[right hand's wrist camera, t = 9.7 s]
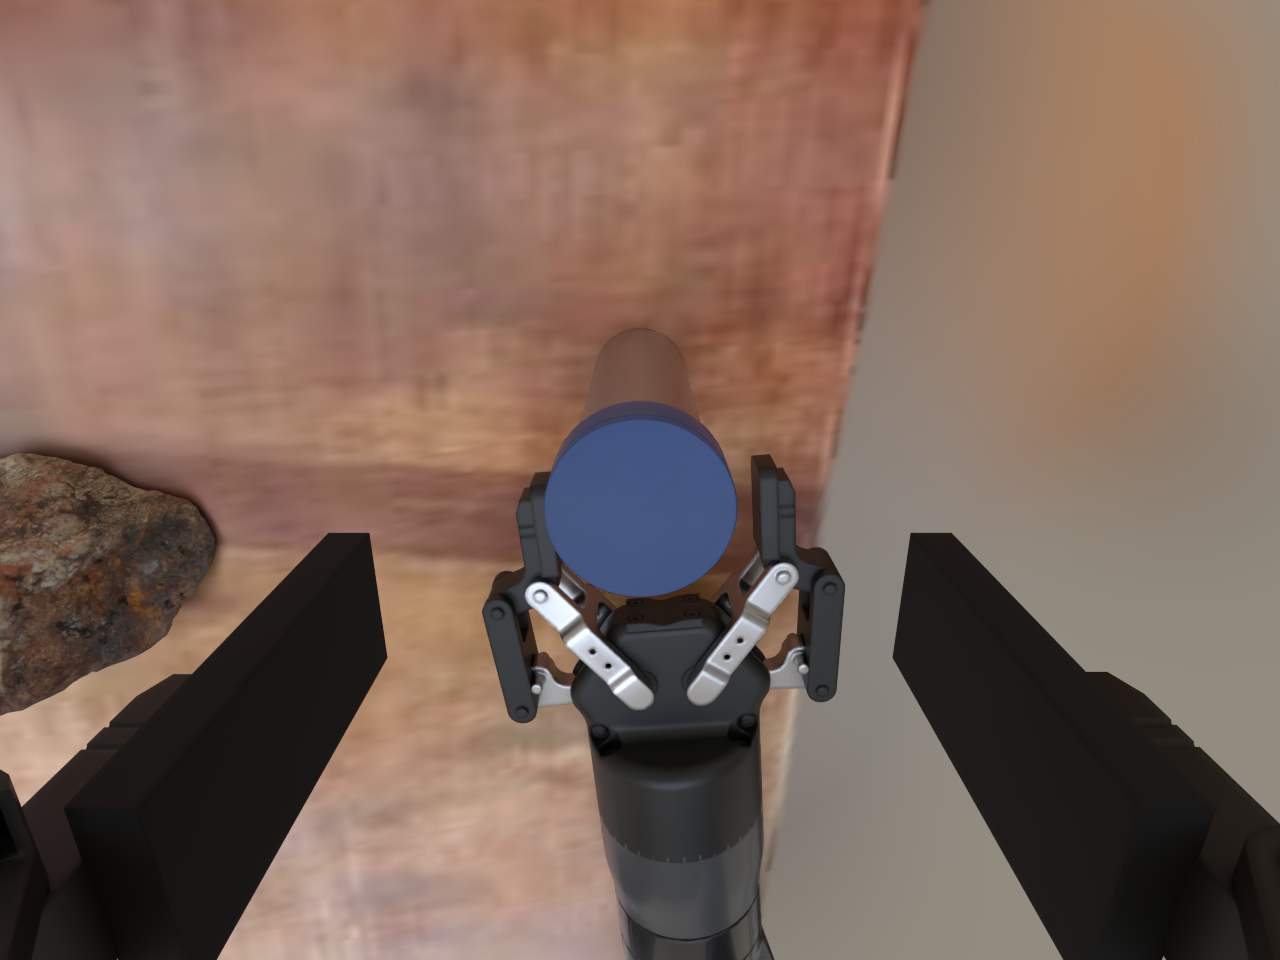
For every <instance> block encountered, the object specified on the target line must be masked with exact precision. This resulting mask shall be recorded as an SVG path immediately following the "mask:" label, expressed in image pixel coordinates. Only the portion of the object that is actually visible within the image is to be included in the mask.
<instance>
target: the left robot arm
mask: <svg viewBox="0 0 1280 960" xmlns="http://www.w3.org/2000/svg"><path fill="white" fill-rule="evenodd" d="M550 474H551V472H539V473H535V474H534V477H533V479H532V482H531V485H530V487H529V488H525V489H524V491H523V493H522V496H521V498H520V501H519V504H518V508H517V512H516V517H517V523H518V529H519V536H520V542H521V548H522V554H523V561H524V567H523V568H521V569H519V570H517V571H515V572H510V571H504V572H501V573H499V574H498V575H497V576H496V577H495V579H494V581H493V584H492V589H491V592H490V595H489V597H488V599H487V600H486V602H485V604H484V607H483V610H482V614H483V619H484V622H485V626H486V630H487V634H488V638H489V642H490V645H491V649H492V653H493V657H494V661H495V665H496V669H497V672H498V676H499V680H500V684H501V688H502V692H503V696H504V699H505V703H506V707H507V711H508V714H509V716H510V718H511V719H512V720H514V721H516V722H518V723H528V722H530V721H532V720H533V719H534V718H535V716H536V713H537V708H541V707H549V706H557V705H565V704H574V705H575V707H576V708H577V709H578V710H579V711H580V712H581V714H582V715H583V717H584V718H585V720H586V723H587V727H588V734H589V741H590V748H591V755H592V763H593V770H594V777H595V784H596V791H597V799H598V806H599V814H600V821H601V828H602V835H603V842H604V849H605V854H606V858H607V862H608V865H609V869H610V872H611V875H612V878H613V881H614V885H615V891H616V898H617V906H618V913H619V921H620V927H621V934H622V941H623V947H624V952H625V956H626V960H774V957H773V955H772V952H771V949H770V947H769V944H768V941H767V938H766V936H765V933H764V930H763V927H762V924H761V902H760V866H761V860H762V852H763V807H762V777H761V748H760V719H759V711H760V706H761V703H762V701H763V699H764V698H765V696H766V694H767V693H768V691H769V689H791V688H806V690H807V693H808V696H809V697H810V698H811V699H812V700H814V701H816V702H825V701H828V700H830V699H831V698H833V696H834V695H835V693H836V690H837V678H838V666H839V654H840V642H841V630H842V618H843V606H844V594H845V583H844V581H843V579H842V578H841V576H840V574H839V572H838V570H837V569H836V567H835V565H834V563H833V561H832V560H831V558H830V556H829V554H828V552H827V551H826V550H824V549H822V548H819V547H815V548H811V549H809V550H808V549H804V548H801V547H798V546H796V521H795V491H794V488H793V486H792V484H791V482H790V480H789V478H788V476H787V474H786V473H785V471H784V469H783V468H776V465H775V463H774V462H773V460H772V458H771V456H770V454H767V455H755V456H751V479H752V507H753V536H754V540H755V543H756V545H757V548H756V550H755V551H754V552H753V554H752V555H751V556H750V557H749V559H748V560H747V561H746V563H745V564H744V565H743V567H742V568H741V569H740V571H739V572H737V573H733V574H731V575H730V576H729V578H728V579H727V580H726V582H725V583H724V584H723V586H722V587H721V588H720V589H719V591H718V592H717V593H716V595H715V596H714V597H713V599H712V600H711V601H708V600H705V599H700V596H699V594H686V595H679V596H676V597H673V598H670V599H667V600H656V599H649V598H634V599H626V605H623V606H621V607H619V608H616V607H615V606H614V605H613V604H612V603H611V602H610V601H609V600H608V599H607V598H605V597H604V596H603V595H602V594H601V593H600V592H599V591H598V590H597V589H596V588H595V587H594V586H592V585H591V584H584V583H583V582H582V581H581V580H580V579H579V578H578V577H577V576H576V575H575V574H573V573H572V572H571V571H570V570H569V569H568V568H567V567H566V566H565V565H564V564H563V563H562V562H563V560H562V559H561V558H560V556H559V555H558V553H557V552H556V550H555V549H554V547H553V545H552V543H551V540H550V538H549V535H548V532H547V529H546V525H545V519H544V497H545V490H546V487H547V483H548V479H549V477H550ZM792 588H794V589H798V590H799V605H798V622H797V634H795V633H790V634H789V635H788V636H787V639H785V640H784V642H783V644H782V647H781V650H780V652H779V653H778V654H777V655H776V656H774V657H772V658H768V659H765V657H764V655H763V653H762V652H761V651H760V649H759V648H758V647H757V646H756V645H755V644H756V643H757V642H758V640H759V639H760V638H761V637H762V636H763V634H764V633H765V632H766V630H767V628H768V626H769V622H770V617H771V615H772V614H773V612H774V611H775V610H776V608H777V607H778V606H779V605H780V603H781V602H782V601H783V600H784V598H785V597H786V596H787V595H788V593H789V592H790V591H791V590H792ZM532 608H533V609H535V610H536V611H537V612H538V613H539V614H540V615H541V616H542V617H543V618H544V619H546V620H547V621H548V622H549V623H550V624H551V625H552V626H553V627H554V628H555V629H557V630H558V632H559V633H560V635H561V639H562V641H563V642H564V644H565V645H566V646H567V648H569V649H570V650H571V651H572V652H573V653H574V654H575V655H576V656H577V657H578V658H580V659H579V661H578V662H577V664H576V665H575V667H574V670H573V673H564V672H562V671H560V670H559V669H558V668H557V667H556V665H555V663H554V661H553V659H552V658H550V657H549V655H548V654H547V653H546V652H541V653H539V654H538V649H537V645H536V641H535V637H534V632H533V628H532V624H531V619H530V615H529V611H528V610H529V609H532Z"/></svg>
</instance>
